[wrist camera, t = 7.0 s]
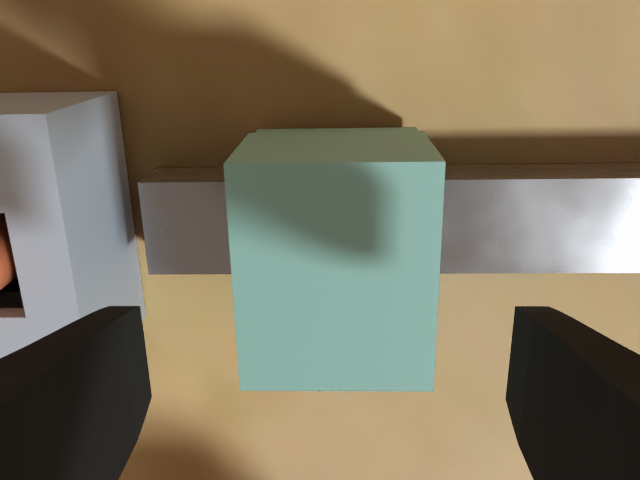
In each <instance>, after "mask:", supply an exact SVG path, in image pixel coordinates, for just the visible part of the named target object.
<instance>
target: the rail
mask: <svg viewBox="0 0 640 480" xmlns="http://www.w3.org/2000/svg"><path fill="white" fill-rule="evenodd" d="M138 191H139V199H140V207H141V215H142V223H143V231H144V239H145V248H146V256H147V264H148V272H149V274H231V263H230V249H229V235H228V221H227V208H226V194H225V180H224V167H166V168H155V169H154V170H153V171H152V172H150V173H149V174H148V175H147V176H145V177H144V178H143V179H142V180H140V181H139V182H138ZM440 273H640V163H573V164H471V165H445V184H444V203H443V221H442V240H441V259H440Z"/></svg>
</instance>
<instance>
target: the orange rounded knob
mask: <svg viewBox="0 0 640 480" xmlns="http://www.w3.org/2000/svg"><path fill="white" fill-rule="evenodd" d="M16 277H17V272H16V267H15V262H14V257H13V252H12V247H11V242H10V237H9V232H8V227H7V222H6V217H5V213H0V290H1V289H2V288H3V287H5V286H6V285H7V284H9V283H10V282H11V281H12V280H14V279H15V278H16Z"/></svg>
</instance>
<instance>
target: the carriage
mask: <svg viewBox="0 0 640 480" xmlns="http://www.w3.org/2000/svg"><path fill="white" fill-rule="evenodd" d="M445 165H446V161H445V160H444V159H443V157H442V156H441V154H440V153H439V152H438V150H437V149H436V147H435V146H434V145H433V143H432V142H431V141H430V139H429V138H428V136H427V135H426V134H425V132H424V131H418V130H417V128H416V127H395V128H313V129H257V130H256V132H255V133H248V134H247V136H246V137H245V138H244V139H243V140H242V142H241V143H240V144H239V145H238V146H237V148H236V149H235V150H234V151H233V153H232V154H231V155H230V156H229V157H228V159H227V160H226V161H225V162H224V163H223V167H224V180H225V194H226V208H227V221H228V235H229V249H230V263H231V276H232V290H233V304H234V317H235V331H236V345H237V358H238V372H239V386H240V391H428V392H434V373H435V354H436V335H437V316H438V297H439V278H440V259H441V240H442V221H443V203H444V184H445Z"/></svg>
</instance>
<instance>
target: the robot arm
mask: <svg viewBox="0 0 640 480" xmlns="http://www.w3.org/2000/svg"><path fill="white" fill-rule="evenodd" d="M151 397H152V395H151V387H150V379H149V371H148V364H147V356H146V348H145V340H144V332H143V325H142V317H141V309H140V306H108V307H105V308H102V309H99V310H97V311H95V312H92V313H90V314H88V315H86V316H84V317H82V318H80V319H78V320H76V321H74V322H72V323H70V324H68V325H66V326H64V327H62V328H60V329H58V330H56V331H54V332H53V333H51V334H49V335H47V336H45V337H43V338H41V339H39V340H37V341H35V342H33V343H31V344H29V345H27V346H25V347H23V348H21V349H19V350H17V351H15V352H13V353H11V354H8V355H6V356H4V357H2V358H0V480H118V479H119V477H120V475H121V473H122V471H123V469H124V467H125V465H126V463H127V461H128V459H129V457H130V455H131V453H132V451H133V448H134V446H135V444H136V442H137V440H138V437H139V434H140V431H141V428H142V426H143V423H144V420H145V416H146V413H147V410H148V407H149V403H150V400H151ZM506 402H507V406H508V409H509V413H510V417H511V421H512V424H513V428H514V431H515V434H516V438H517V441H518V444H519V447H520V449H521V451H522V454H523V456H524V458H525V461H526V463H527V465H528V468H529V470H530V472H531V474H532V477H533V479H534V480H640V355H639V354H637V353H635V352H633V351H631V350H629V349H628V348H626V347H624V346H622V345H620V344H618V343H617V342H615V341H613V340H611V339H609V338H608V337H606V336H604V335H602V334H600V333H599V332H597V331H595V330H593V329H592V328H590V327H588V326H586V325H584V324H583V323H581V322H579V321H577V320H575V319H574V318H572V317H570V316H568V315H566V314H564V313H562V312H560V311H558V310H556V309H553V308H551V307H540V306H515V314H514V324H513V333H512V343H511V353H510V362H509V372H508V382H507V391H506Z"/></svg>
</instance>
